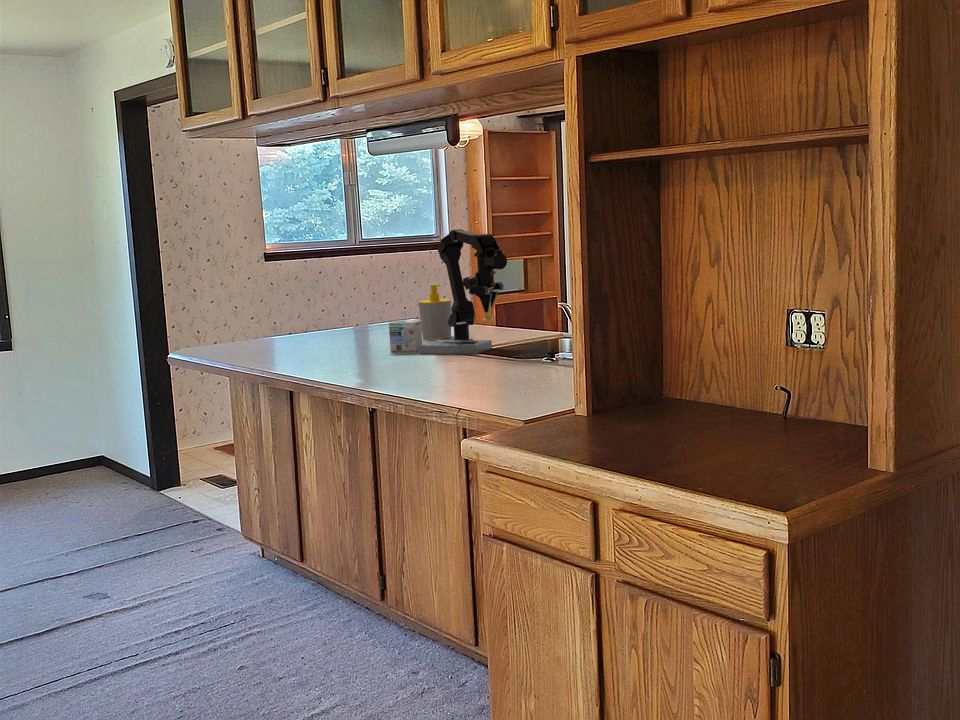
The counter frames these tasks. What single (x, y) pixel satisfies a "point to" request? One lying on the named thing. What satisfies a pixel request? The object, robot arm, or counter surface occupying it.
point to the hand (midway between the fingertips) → (487, 311)
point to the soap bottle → (435, 316)
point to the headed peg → (488, 316)
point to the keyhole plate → (456, 347)
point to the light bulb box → (405, 335)
